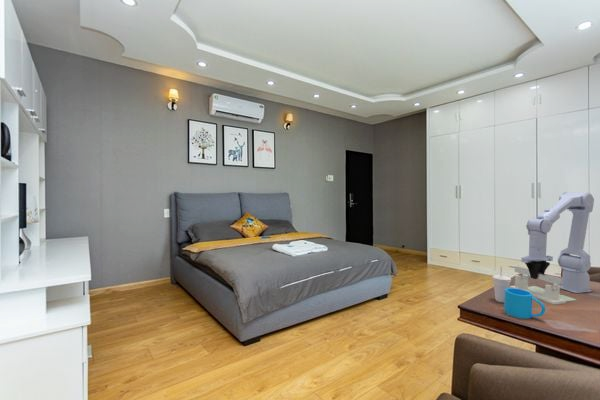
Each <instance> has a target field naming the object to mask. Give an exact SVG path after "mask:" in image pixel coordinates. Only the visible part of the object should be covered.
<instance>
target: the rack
mask: <svg viewBox="0 0 600 400" xmlns="http://www.w3.org/2000/svg"><path fill="white" fill-rule="evenodd" d="M521 275H522V276H521ZM521 275H518V274H516V275H515V276H514V285H510V286H509V288H516V289H522V290H526V291H528V292H530V293H532V294H533V296H532V297H534V298H536V299H538V300H539V301H543V302H546V303H548V304H550V305H551V304H552V305H561V304H562V305H563V304H567V302H566V301H565V300H562V299H559V295H560V294H561V293H560V291H561V288H560V286H561V284H554V283H552V285H550V284H548V283H547V284H544V289H545V294H544V293H542V292H539V291H536V290H533V289H530V288H528V287H529V276H527V275H524V274H521Z"/></svg>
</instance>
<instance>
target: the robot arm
mask: <svg viewBox="0 0 600 400" xmlns="http://www.w3.org/2000/svg"><path fill="white" fill-rule="evenodd" d="M594 203H595V198H594V197H593V195H592V193H590V192H567V191H565V192H562V194H560V195H559V197H558V201H557V202H556V203H555V204H554V205H553V206H552V208H545V209H544V210H543V212H541V213H540V214H538V216H536V217H535V218H534V217H533V218H530V219H528V221H527V223H526V225H525V227H526V229H527V234H528V235H529V243H528V245H529V246H528V247H529V248H528V255H526V256H524V257H521V261H520V262H521V263H523V264H525V265H526V267H527V269H529V272H530V276H529V277H530V278H531V279H533V280H537V277H538V272H540V273H544V274H546V273H545V272H546V270H547V269H548V267H549V266H550V265H551V263H550V262H554V261H553V259H554V258H553V256H552V255H547V245H548V244H547V239H548V234H549V232H550V231H551V229H552V227H553V224H555V222H556V221H558V220H559V219H560V218H561V217H560V216H561V215H560V214H562V213H563V212H565V211H566V210H567V211H569V212H571V213H572V218H571V225H570V231H569V238H568V242H567V247H566V248H564V249H562V250H560V254H559V255H558V258H557V264H558V266H559V267H560V269H562V273H561V274H562V275H561V278H562V284H561V285H560V290H565V291H568V292H572V293H574V294H582V293H591V292H592V290H591V289H590V279H591V278H590V275H589V273H588V271H589V270H591V269H590V268H591V265H592V263H591V255H590V254H588V253H587V252H586V251H585V250H584V247H585V240H586V235H587V229H588V222H589V216H590V213H592V212H593V210H594Z"/></svg>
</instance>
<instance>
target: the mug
mask: <svg viewBox="0 0 600 400" xmlns="http://www.w3.org/2000/svg"><path fill="white" fill-rule="evenodd" d="M532 296H533V294H532V293H530V292H528V291H526V290H522V289H516V288H510V287H509V288H507V289H505V302H504V306H503V307H504V308H503V309H504V310H503V311H505V312H504V313H505V314H506V313H507V315H508V314H509V316H511V317H514V318H518V319H531V318H535V317H536V318H537V317H542V316H543V315H544V314H545V313H546V307H545V304H544V303H543V302H542V301H541V300H540V299H537V298H535V297H532ZM533 301H535V302H537V303H538V304H539V305H540V307H541V311H540V312H539V313H536V314H535V313H534V314H533Z"/></svg>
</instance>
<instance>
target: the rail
mask: <svg viewBox="0 0 600 400" xmlns="http://www.w3.org/2000/svg"><path fill="white" fill-rule="evenodd" d="M514 273H518V274H521V275H523V274H524V275H527V276H528V277H531V276H530V272H529V269H528V268H526V267H522V266H514ZM537 279H538V280H541V281H544V282H548V283H551V284H557V285H562V277H557V276H554V275H551V274H547V273H540V272H538V277H537ZM537 279H536V280H537Z"/></svg>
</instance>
